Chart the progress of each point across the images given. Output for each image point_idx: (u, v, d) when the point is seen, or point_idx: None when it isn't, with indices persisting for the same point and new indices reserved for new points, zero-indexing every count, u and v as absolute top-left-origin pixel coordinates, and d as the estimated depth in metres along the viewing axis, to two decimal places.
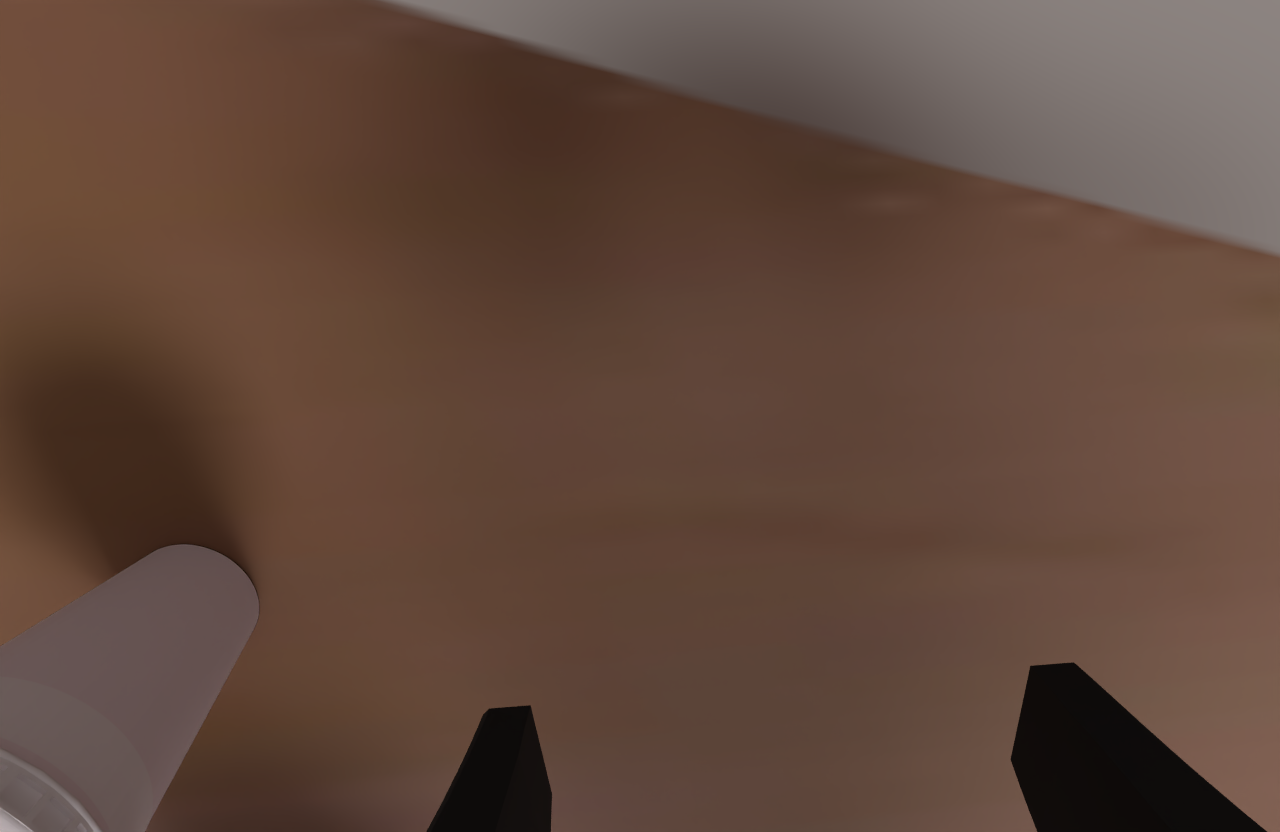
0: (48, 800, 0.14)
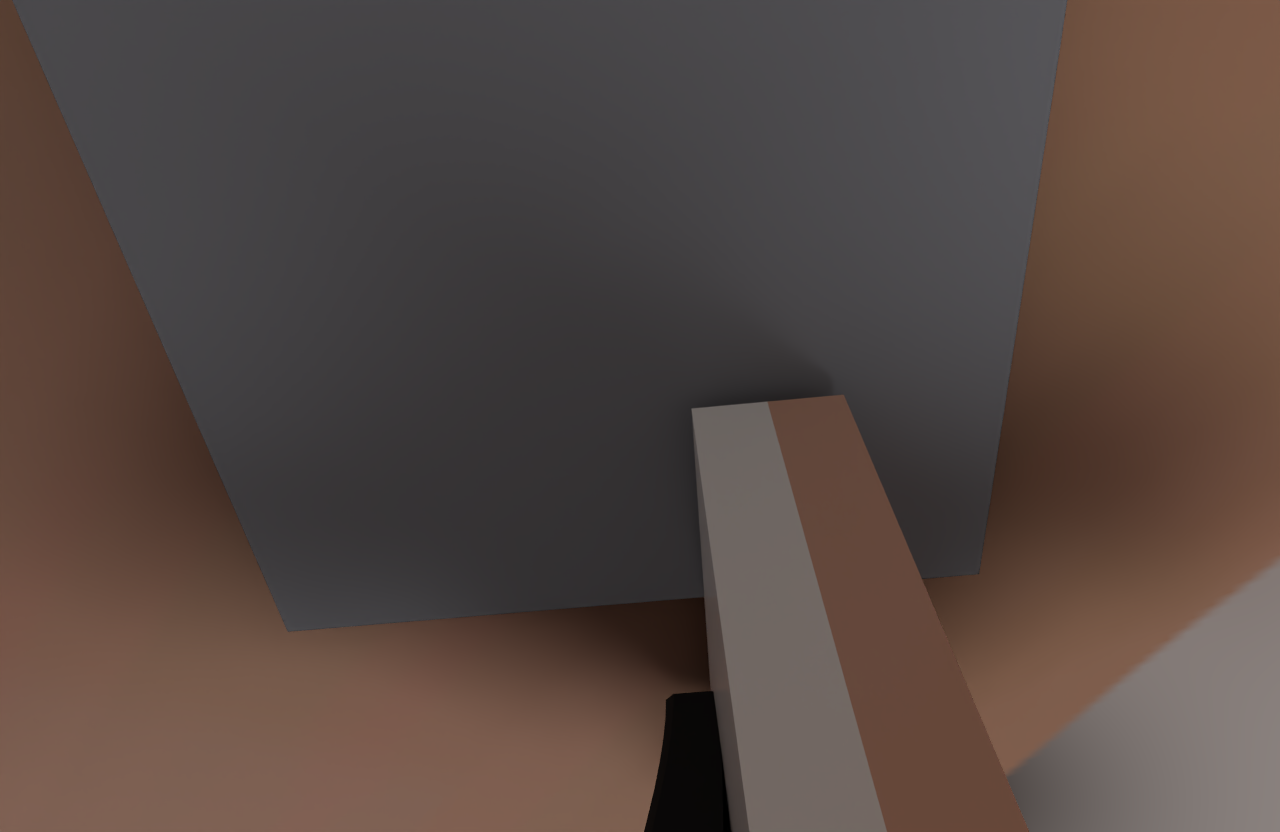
0: None
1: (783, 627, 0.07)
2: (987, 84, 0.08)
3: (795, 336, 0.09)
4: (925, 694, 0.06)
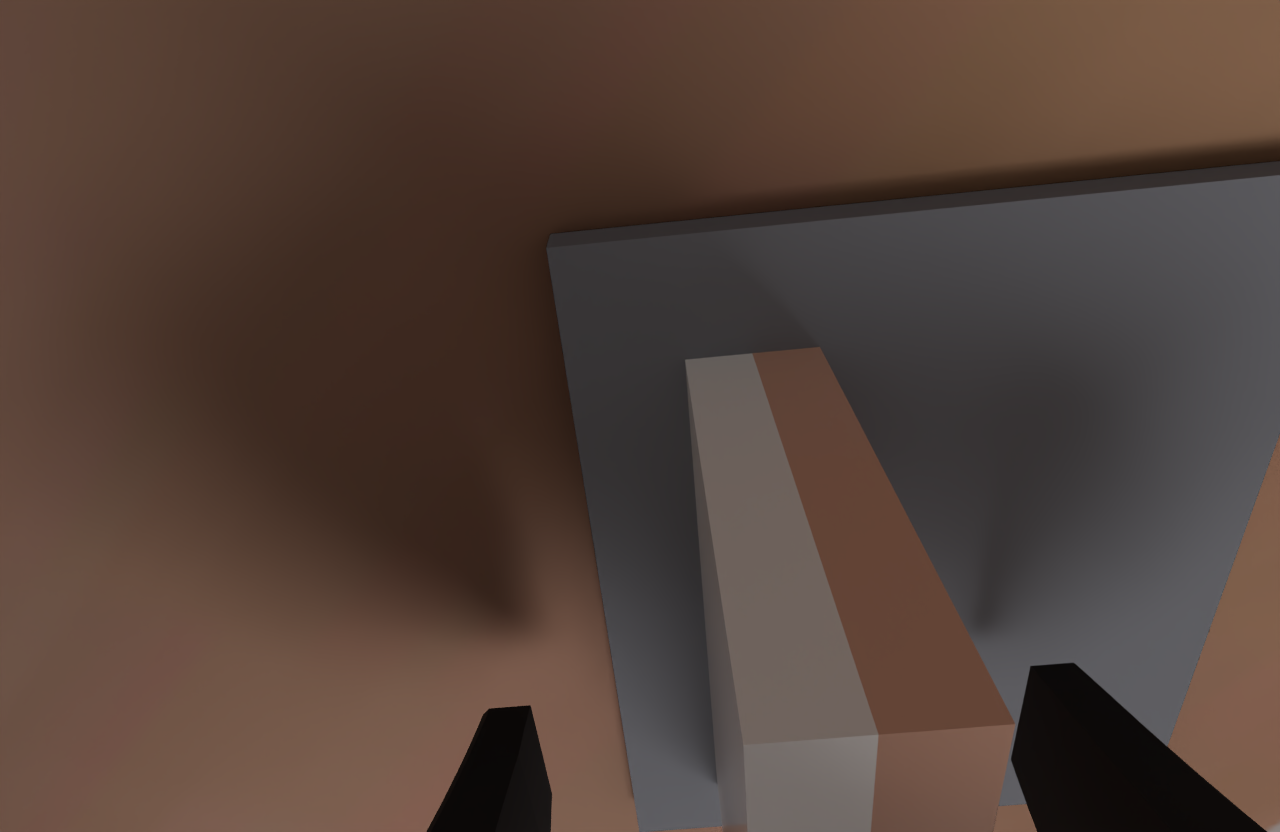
0: None
1: (760, 500, 0.08)
2: (1200, 533, 0.12)
3: (1046, 661, 0.13)
4: (880, 539, 0.07)
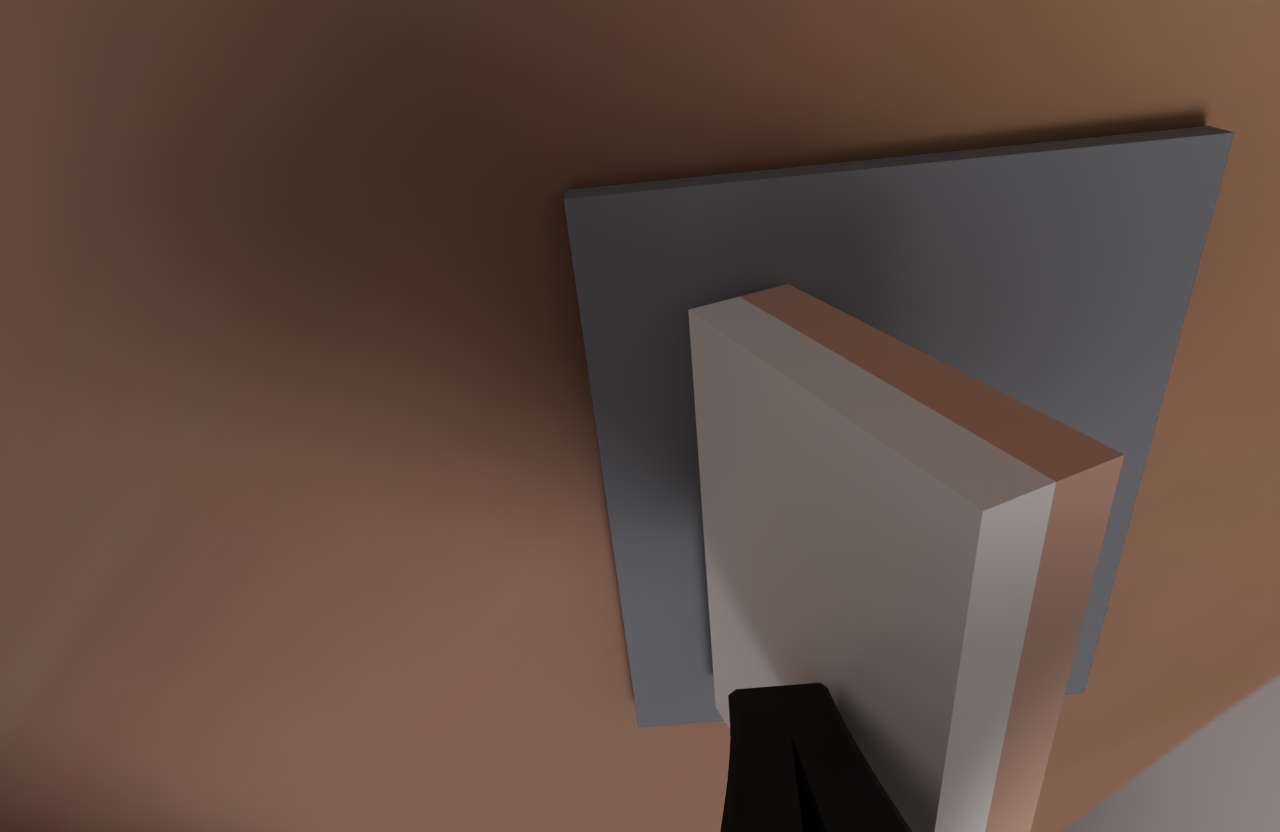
0: None
1: (848, 383, 0.10)
2: None
3: None
4: (952, 385, 0.09)
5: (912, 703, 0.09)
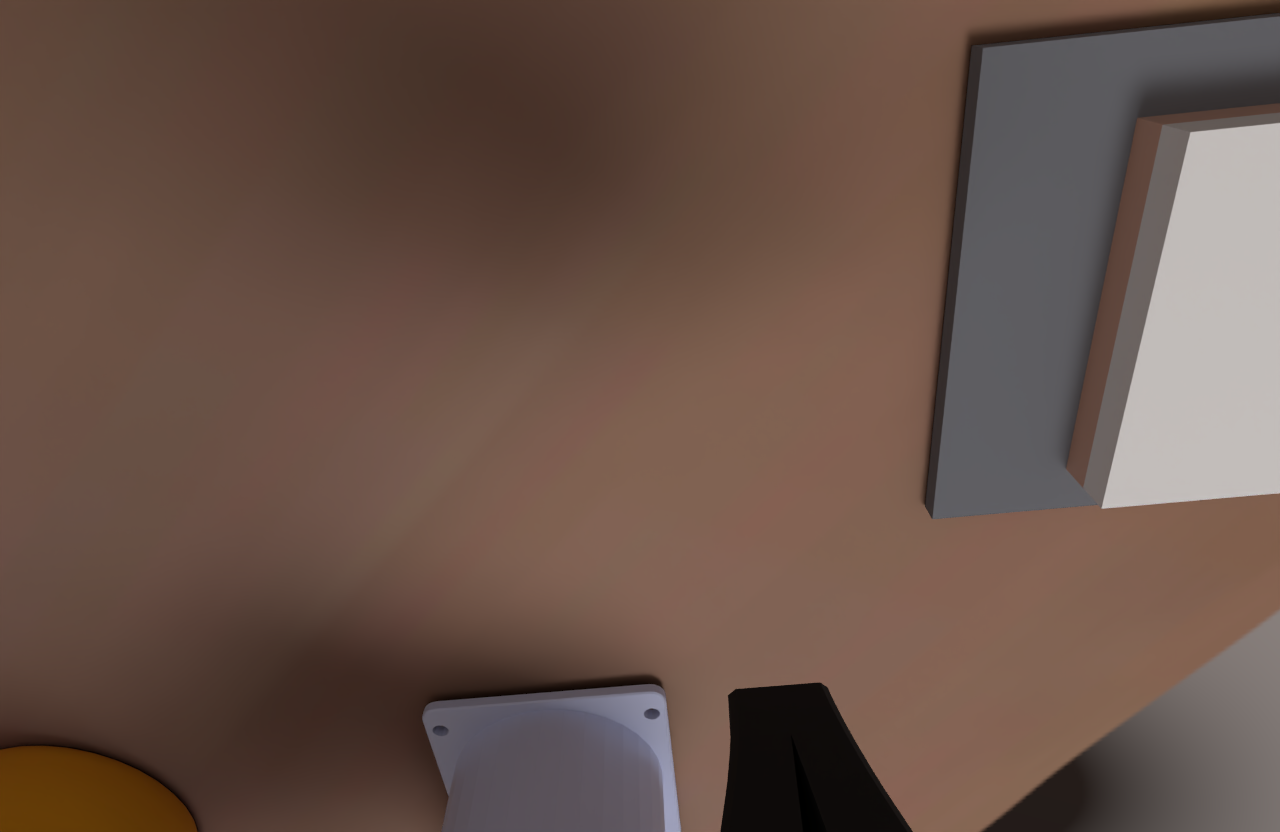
0: None
1: None
2: None
3: None
4: None
5: None
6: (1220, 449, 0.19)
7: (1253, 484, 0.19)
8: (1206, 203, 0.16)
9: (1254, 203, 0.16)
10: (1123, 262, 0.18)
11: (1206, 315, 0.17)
